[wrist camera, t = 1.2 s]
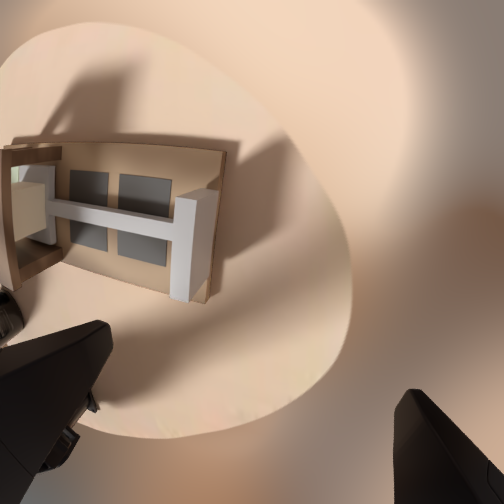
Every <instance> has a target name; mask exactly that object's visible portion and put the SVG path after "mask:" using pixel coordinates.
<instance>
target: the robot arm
mask: <svg viewBox="0 0 504 504" xmlns="http://www.w3.org/2000/svg"><path fill="white" fill-rule="evenodd" d="M112 349H113V340H112V334H111V328H110V325H109V324H108V323H106V322H104V321H101V320H95V321H91V322H88V323H85V324H82V325H78V326H75V327H72V328H68V329H65V330H62V331H58V332H55V333H52V334H48V335H45V336H42V337H38V338H35V339H32V340H28V341H25V342H21V343H18V344H14V345H11V346H7V347H4V348H0V504H20V502H21V500H22V499H23V497H24V495H25V493H26V491H27V490H28V488H29V486H30V484H31V483H32V481H33V479H34V477H35V476H36V475H41V474H44V473H46V472H48V471H51V470H53V469H55V468H56V467H57V468H58V467H60V466H61V465H62V464H63V463H64V462H65V461H66V460H67V459H68V457H69V456H70V454H71V452H72V450H73V449H74V447H75V445H76V443H77V442H78V440H79V438H80V436H79V435H78V434H77V433H75V432H74V431H73V430H72V427H73V426H74V425H75V423H76V422H77V421H78V420H79V418H80V417H81V416H82V415H83V413H84V412H85V411H86V410H87V409H88V410H90V411H92V412H94V413H96V412H97V408H96V405H95V402H94V399H93V396H92V393H91V388H92V386H93V385H94V383H95V381H96V379H97V377H98V376H99V374H100V372H101V370H102V368H103V366H104V364H105V363H106V361H107V359H108V357H109V355H110V353H111V352H112ZM393 467H394V504H504V474H503V473H502V472H501V471H500V470H499V469H497V467H496V466H495V465H494V464H493V463H492V462H491V461H490V460H488V458H487V457H486V456H485V455H484V454H483V453H482V451H481V450H479V448H478V447H477V446H476V445H475V444H474V443H473V442H472V441H471V440H470V439H469V438H468V437H467V436H466V435H465V434H464V433H463V432H462V431H461V430H460V429H459V428H458V427H457V426H456V425H455V424H454V422H452V420H451V419H450V418H449V417H448V416H447V415H446V414H445V413H444V412H443V411H442V410H441V409H440V408H439V407H438V406H437V405H436V404H435V403H434V402H433V401H432V400H431V399H430V398H429V397H428V396H427V395H426V394H425V393H424V392H423V391H422V390H420V389H408V390H407V391H406V392H405V394H404V395H403V397H402V399H401V400H400V402H399V403H398V405H397V406H396V408H395V412H394V443H393Z"/></svg>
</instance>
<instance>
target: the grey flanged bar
mask: <svg viewBox="0 0 504 504" xmlns="http://www.w3.org/2000/svg"><path fill="white" fill-rule="evenodd" d="M21 181H24V182H33V183H43V184H45V213H46V229H43V230H41V231H38V232H36V233H33V234H31V235H28V236H26V237H27V238H30V239H33V240H36V241H40V242H43V243H46V244H49V245H52V244H54V243H56V227H55V216H58V217H62V218H67V219H71V220H76V221H81V222H85V223H90V224H95V225H99V226H104V227H108V228H113V229H118V230H122V231H127V232H132V233H136V234H141V235H146V236H151V237H155V238H160V239H165V240H169V241H172V252H171V273H170V298H171V299H175V300H179V301H182V302H186V303H189V302H190V300H191V299H192V298H193V296H194V295H195V294H196V293H197V291H198V290H199V289H200V287H201V286H202V285H203V284H204V282H205V281H206V280H207V278H208V277H209V273H210V263H211V254H212V244H213V236H214V227H215V219H216V210H217V202H218V195H219V191H217V190H211V189H205V188H200V189H197V190H194V191H191V192H188V193H185V194H182V195H180V196H177V197H175V209H174V219H170V218H165V217H159V216H154V215H148V214H143V213H137V212H131V211H126V210H120V209H114V208H109V207H103V206H97V205H91V204H85V203H79V202H73V201H67V200H61V199H55V166H50V165H23V166H19V182H21Z"/></svg>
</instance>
